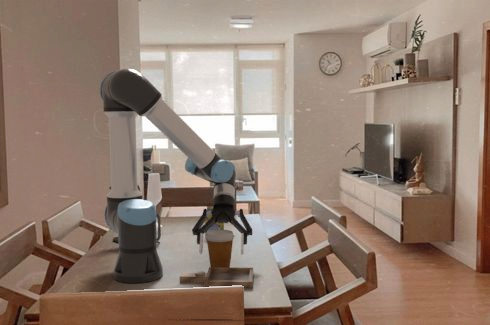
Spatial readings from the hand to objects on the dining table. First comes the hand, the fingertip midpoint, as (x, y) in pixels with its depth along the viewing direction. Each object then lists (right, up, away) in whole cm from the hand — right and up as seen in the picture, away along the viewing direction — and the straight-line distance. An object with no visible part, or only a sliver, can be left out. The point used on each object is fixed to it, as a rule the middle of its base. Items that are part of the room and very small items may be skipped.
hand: (221, 252), depth 172 cm
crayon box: (-5, -2, +45) cm, 46 cm away
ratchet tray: (-1, -7, -12) cm, 13 cm away
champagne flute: (-33, 0, +66) cm, 74 cm away
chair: (-36, -2, +38) cm, 53 cm away
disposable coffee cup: (0, -6, +1) cm, 6 cm away
